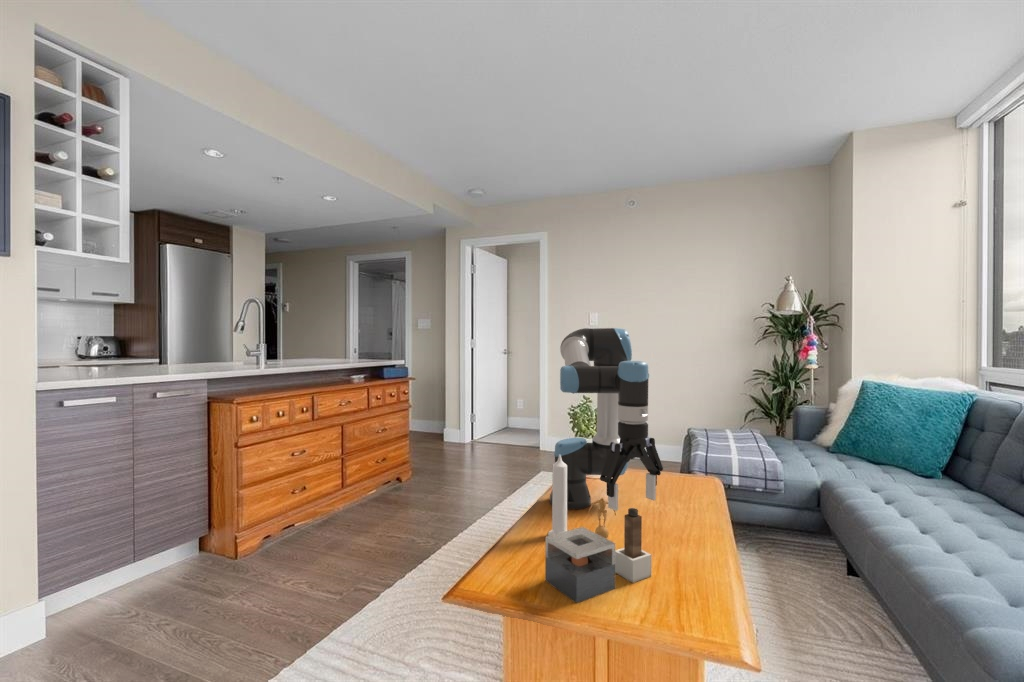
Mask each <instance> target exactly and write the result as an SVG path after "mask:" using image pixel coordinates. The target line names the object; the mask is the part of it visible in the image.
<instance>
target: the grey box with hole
mask: <svg viewBox="0 0 1024 682" xmlns="http://www.w3.org/2000/svg"><path fill="white" fill-rule="evenodd" d="M615 550H616V542H614V541H612V540H610V539H608V538H604V537H602V536H600V535H598V534H596V533H595V531H592V530H590V529H588V528H586V527H584V526H581V527H577V528H573V529H569V530H567V531H565V532H561V533H557V534H553V535H550V536H548V535H546V536H545V563H544V564H545V571H544V572H545V579H544V580H545V582H546V583H547V584H549V585H551V586H552V588H555V589H556V590H558V591H559V592H560V593H562V594H563V595H564V596H566V597H568V599H570V600H572V602H574V603H576V604H578V603H581V602H583V601H586V600H589V599H591V598H592V599H593V598H594V597H597V596H599V595H602V594H605V593H608V592H610V591H613V590H615V589H616V573H615ZM572 557H574V558H575V559H579V558H582V557H587V558H588V564H586V565H583V566H580V567H578V566H576V565H575V564H573V563H572Z"/></svg>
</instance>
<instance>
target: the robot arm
mask: <svg viewBox="0 0 1024 682" xmlns="http://www.w3.org/2000/svg"><path fill="white" fill-rule="evenodd" d="M559 350H560V355H561V357H562V359H563V360H564V365H563V366H561V367H560V371H559V384H560V386H559V388H560V391H561V392H562V393H565V394H566V393H567V394H569V393H571V394H597V395H596V397H597V398H596V399H597V400H596V405H597V406H596V434H595V435H593V436H592V440H591V441H592V442H588V441H587V440H586V438H583V437H569V438H563V439H560V440H558V441H557V442H556V443H555V445H554V454H553V456H554V463H556V462H557V460H558V457H559V454H560V455H561V458H562V461H563V462H564V463H565V464H566V465H567V510H581V509H585V508H588V507H589V506H590V507H591V505H592V498H591V494H590V489H589V488H588V484H587V476H600V477H599V480H600V482H601V481H602V482H604V483H606V496H607V501H608V504H607V508H608V509H611V510H615V512H617V511H619V483H617V481H618V480H619V477H620V476H623V475H625V474H626V471H627V470H628V466H629V462H630V460H634V459H639V461H640V462H641V464H643V466H644V467H645V468H646V470H647V472H646V473H645V498H646V499H648V500H651V501H656V500H657V498H656V495H657V492H656V490H657V489H656V488H657V485H658V476H661V473H662V472H663V470H664V466H663V464H662V461H661V459H660V456H659V453H658V449H657V448H656V442H655V441H656V440H655V438H654V437H650V436H649V423H648V422H647V421H649V379H650V374H649V364H648V363H647V362H646V361H641V360H632V359H633V357H632V356H633V354H632V351H633V350H632V343H631V338H630V335H629V332H628V331H627V330H626V329H624V328H616V327H610V328H609V327H605V328H603V327H602V328H600V327H599V328H595V327H594V328H589V327H588V328H587V327H586V328H581V329H576V330H574V331H571V332H570V333H569V334H568V335H566V336H565V337H564V338H563V340H562V342H561V343H560V348H559ZM591 362H593V365H591ZM549 503H550V504H551V505H552V491H551V492H550V494H549Z"/></svg>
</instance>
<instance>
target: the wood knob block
mask: <svg viewBox="0 0 1024 682" xmlns="http://www.w3.org/2000/svg"><path fill="white" fill-rule="evenodd" d="M642 521H643V520H642V516H641V515H640V514H639V510H638V508H634V507H630V508H628V509H627V513H626V514H624V525H623V526H624V529H623V530H624V542H623V543H624V545H623V546H624V547H623V548H624V554H625V555H626V556H628V557H630V558H632V559H634V558H637V557H640V556H641V550H642V542H643V541H642V531H643V530H642V529H643V527H642V525H643V523H642Z"/></svg>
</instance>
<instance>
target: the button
mask: <svg viewBox="0 0 1024 682" xmlns="http://www.w3.org/2000/svg"><path fill="white" fill-rule="evenodd" d="M572 563H573V564H575V565H576V566H578V567H580V566H583V565H586V564H588V558H587V557H582V558H579V559H575V558H574V557H572Z"/></svg>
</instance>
